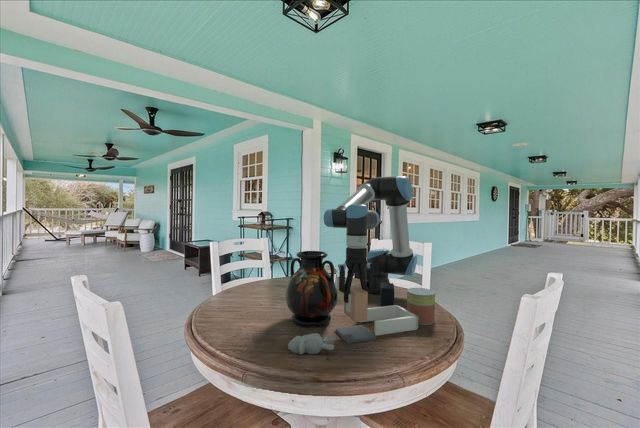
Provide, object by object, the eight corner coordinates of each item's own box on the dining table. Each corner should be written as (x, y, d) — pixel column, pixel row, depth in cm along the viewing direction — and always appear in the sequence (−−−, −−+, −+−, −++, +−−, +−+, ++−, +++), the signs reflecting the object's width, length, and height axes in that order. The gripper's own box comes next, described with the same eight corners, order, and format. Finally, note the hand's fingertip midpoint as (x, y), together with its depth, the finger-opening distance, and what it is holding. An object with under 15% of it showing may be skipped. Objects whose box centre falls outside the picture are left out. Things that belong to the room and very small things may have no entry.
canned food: (440, 321, 126) (441, 292, 125) (422, 327, 119) (423, 296, 119) (418, 313, 135) (418, 286, 135) (400, 318, 129) (401, 290, 129)
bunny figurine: (291, 331, 104) (335, 329, 102) (293, 346, 104) (336, 344, 102) (285, 344, 95) (332, 341, 93) (287, 360, 95) (334, 358, 93)
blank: (356, 311, 116) (356, 285, 116) (367, 320, 107) (367, 292, 107) (344, 313, 114) (344, 286, 114) (354, 321, 106) (355, 293, 105)
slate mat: (361, 327, 118) (361, 325, 118) (375, 339, 108) (376, 336, 108) (335, 331, 114) (335, 328, 114) (347, 343, 104) (347, 340, 104)
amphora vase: (275, 326, 119) (276, 254, 118) (298, 308, 139) (298, 248, 138) (327, 334, 111) (328, 258, 110) (343, 315, 131) (344, 250, 131)
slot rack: (396, 316, 131) (397, 304, 130) (418, 329, 117) (418, 316, 117) (358, 321, 124) (358, 309, 124) (375, 335, 111) (375, 322, 111)
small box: (394, 311, 137) (394, 288, 136) (379, 310, 138) (380, 287, 138) (393, 304, 147) (394, 282, 147) (379, 303, 148) (380, 281, 148)
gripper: (337, 249, 104) (336, 316, 104) (383, 247, 110) (382, 311, 110) (329, 246, 111) (328, 309, 111) (373, 245, 117) (372, 304, 117)
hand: (355, 310), depth 111 cm, fingers closed on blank, 5 cm apart
